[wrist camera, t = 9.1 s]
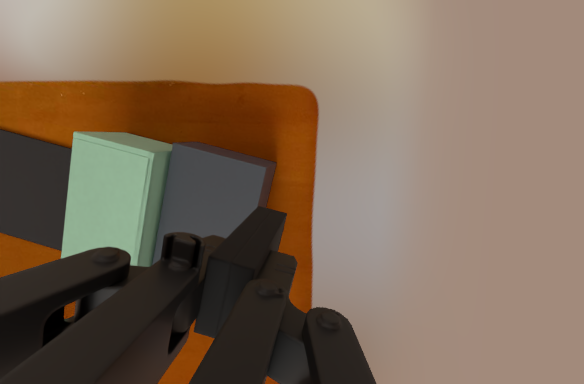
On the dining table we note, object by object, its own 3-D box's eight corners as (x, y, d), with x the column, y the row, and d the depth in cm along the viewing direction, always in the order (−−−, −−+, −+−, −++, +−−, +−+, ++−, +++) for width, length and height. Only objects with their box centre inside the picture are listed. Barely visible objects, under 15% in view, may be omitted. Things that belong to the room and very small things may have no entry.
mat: (-50, 115, 42) (-53, 115, 42) (170, 176, 40) (169, 176, 39) (-53, 215, 45) (-56, 215, 44) (153, 277, 42) (152, 278, 42)
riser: (197, 141, 38) (172, 142, 33) (276, 162, 38) (266, 167, 32) (172, 275, 42) (146, 298, 36) (244, 297, 41) (230, 324, 35)
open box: (190, 149, 38) (125, 132, 39) (154, 152, 31) (73, 131, 31) (169, 269, 42) (109, 251, 42) (131, 300, 34) (58, 278, 34)
